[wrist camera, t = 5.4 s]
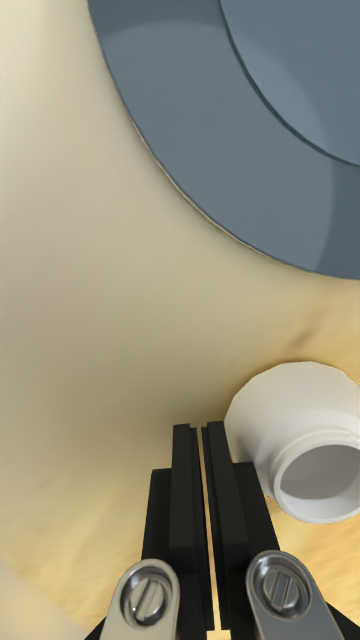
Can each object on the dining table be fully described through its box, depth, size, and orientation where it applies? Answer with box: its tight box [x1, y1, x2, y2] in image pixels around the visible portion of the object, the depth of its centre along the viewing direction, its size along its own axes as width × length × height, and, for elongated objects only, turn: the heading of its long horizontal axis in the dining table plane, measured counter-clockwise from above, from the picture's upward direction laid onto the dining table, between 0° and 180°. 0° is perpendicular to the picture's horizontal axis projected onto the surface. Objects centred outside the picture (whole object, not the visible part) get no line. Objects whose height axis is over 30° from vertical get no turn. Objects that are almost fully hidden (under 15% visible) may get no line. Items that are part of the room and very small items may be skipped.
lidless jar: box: [224, 361, 360, 524], centre depth 10 cm, size 5×3×5 cm
